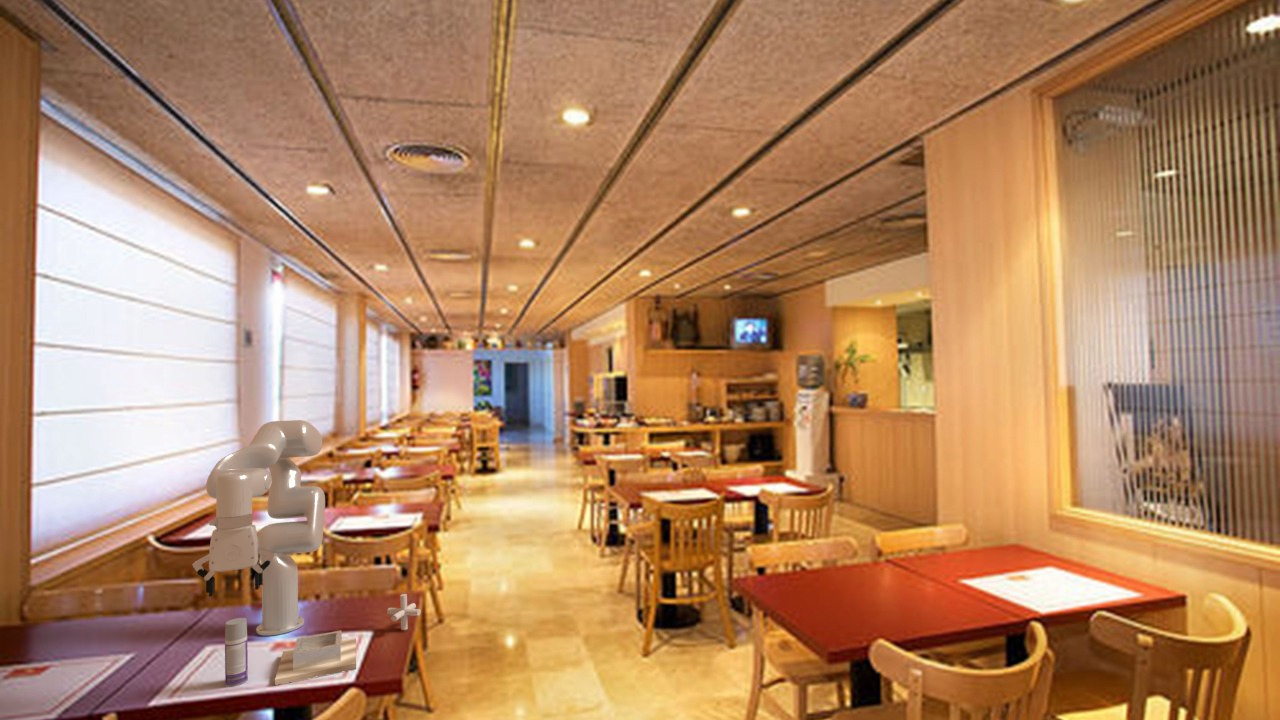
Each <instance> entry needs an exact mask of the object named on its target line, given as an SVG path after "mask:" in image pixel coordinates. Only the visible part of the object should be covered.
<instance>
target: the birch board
mask: <svg viewBox="0 0 1280 720" xmlns="http://www.w3.org/2000/svg"><path fill="white" fill-rule="evenodd" d="M293 652H294V648H293V649H288V650H283V651H282V654H281V657H280V661H279V664H278V668H277V671H276V674H275V675H276V676H275V678H274V686H275V685H277V686H279V685H278V684H282V685H284V684H283V683H287V684H290V683H289V682H291V683H296V682H300V680H301V681H304V680H305V679H306V680H309V679H308V678H311V679H314V678H313V677H316V676H321V677H323V676H322V675H326V676H328V675H327V674H330V675H334V673H335V674H339V672H340V673H343V672H342V671H345V672H348V670H350V671H354V669H355V670H356V669H357V637H353V638H346V639H342V649H341V661H337V662H332V663H327V664H322V665H317V666H312V667H307V668H302V669H297V670H293ZM316 678H317V677H316Z"/></svg>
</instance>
